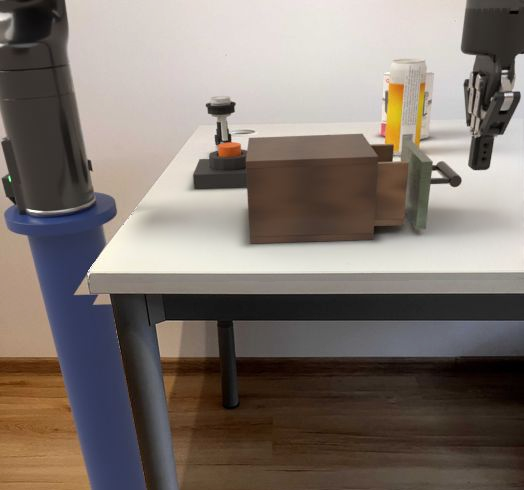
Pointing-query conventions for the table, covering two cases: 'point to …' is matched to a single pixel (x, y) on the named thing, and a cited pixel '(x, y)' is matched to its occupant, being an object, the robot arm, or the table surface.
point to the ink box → (425, 105)
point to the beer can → (405, 102)
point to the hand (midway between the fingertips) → (478, 168)
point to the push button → (221, 117)
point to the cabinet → (311, 188)
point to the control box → (221, 171)
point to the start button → (229, 149)
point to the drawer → (406, 184)
